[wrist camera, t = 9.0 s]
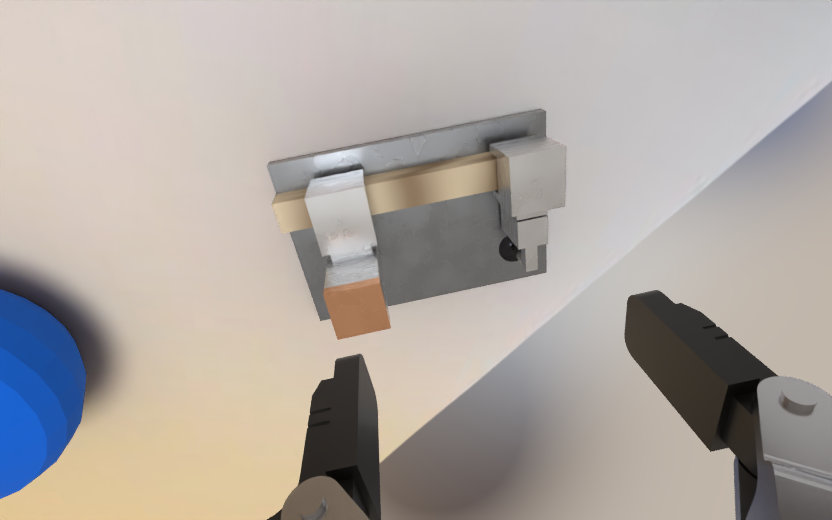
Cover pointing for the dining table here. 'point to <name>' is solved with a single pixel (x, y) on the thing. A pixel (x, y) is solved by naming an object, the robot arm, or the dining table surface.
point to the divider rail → (403, 188)
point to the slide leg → (349, 253)
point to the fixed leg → (529, 191)
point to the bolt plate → (421, 213)
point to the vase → (35, 391)
